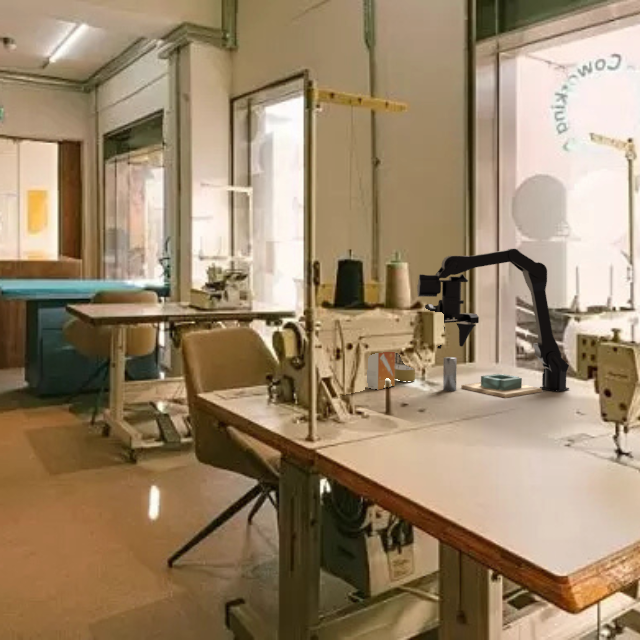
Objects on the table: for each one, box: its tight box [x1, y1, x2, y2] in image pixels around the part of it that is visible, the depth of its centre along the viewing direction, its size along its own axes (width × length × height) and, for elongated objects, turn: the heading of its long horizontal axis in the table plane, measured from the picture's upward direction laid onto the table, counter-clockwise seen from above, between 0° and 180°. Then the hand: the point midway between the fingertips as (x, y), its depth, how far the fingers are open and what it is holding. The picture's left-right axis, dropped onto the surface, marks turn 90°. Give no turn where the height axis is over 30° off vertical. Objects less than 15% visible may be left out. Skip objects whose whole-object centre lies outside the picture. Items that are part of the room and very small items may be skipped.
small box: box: [367, 352, 396, 391], centre depth 235 cm, size 8×6×13 cm
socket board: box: [461, 373, 543, 399], centre depth 230 cm, size 18×16×4 cm
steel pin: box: [442, 356, 458, 392], centre depth 230 cm, size 4×4×10 cm
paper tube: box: [395, 353, 416, 383], centre depth 245 cm, size 7×7×25 cm
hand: (450, 347), depth 230 cm, fingers open, 9 cm apart
